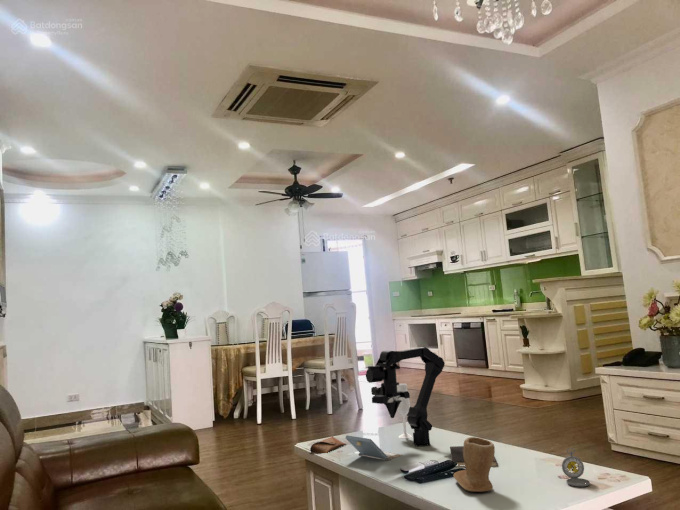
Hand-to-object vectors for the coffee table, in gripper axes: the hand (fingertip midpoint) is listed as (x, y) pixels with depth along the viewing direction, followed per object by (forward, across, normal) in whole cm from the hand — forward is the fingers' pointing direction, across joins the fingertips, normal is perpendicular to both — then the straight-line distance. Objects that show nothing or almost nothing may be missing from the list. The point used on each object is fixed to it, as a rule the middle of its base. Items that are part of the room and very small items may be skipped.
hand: (392, 417), depth 218 cm
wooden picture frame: (+13, +13, +4) cm, 19 cm away
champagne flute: (+13, -22, -12) cm, 28 cm away
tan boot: (+13, +23, +53) cm, 60 cm away
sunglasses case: (+14, +13, -26) cm, 33 cm away
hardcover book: (+14, -6, +34) cm, 37 cm away
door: (+12, +17, +4) cm, 21 cm away
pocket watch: (+13, +2, +76) cm, 78 cm away
